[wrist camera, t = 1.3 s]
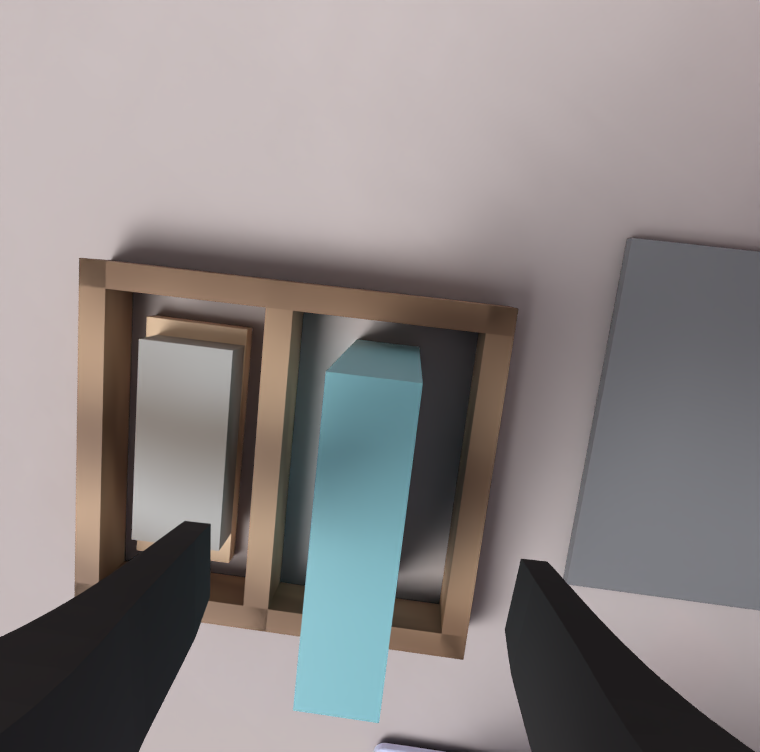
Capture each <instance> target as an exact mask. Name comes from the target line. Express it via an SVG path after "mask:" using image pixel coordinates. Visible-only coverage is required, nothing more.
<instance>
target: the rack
mask: <svg viewBox="0 0 760 752" xmlns="http://www.w3.org/2000/svg"><path fill="white" fill-rule="evenodd" d="M133 292H139V293H147V294H156V295H164V296H173V297H181V298H190V299H198V300H207V301H215V302H224V303H232V304H241V305H249V306H258V307H266V311H265V324H264V337H263V351H262V364H261V377H260V391H259V404H258V418H257V431H256V444H255V458H254V471H253V484H252V498H251V511H250V524H249V538H248V551H247V564H246V577H239V576H232V575H225V574H217V573H210V598H209V601H208V604H207V607H206V610H205V612H204V615H203V618H202V621H201V622H202V623H209V624H216V625H223V626H230V627H237V628H244V629H251V630H258V631H265V632H272V633H279V634H286V635H293V636H300V634H301V624H302V614H303V603H304V593H305V586H304V585H297V584H290V583H282V582H280V576H281V564H282V553H283V542H284V530H285V519H286V507H287V496H288V484H289V473H290V461H291V450H292V438H293V427H294V416H295V404H296V393H297V381H298V370H299V358H300V347H301V335H302V324H303V312H309V313H317V314H326V315H334V316H343V317H351V318H360V319H368V320H377V321H385V322H394V323H402V324H411V325H419V326H428V327H436V328H445V329H453V330H461V331H470V332H478V333H479V334H478V341H477V347H476V354H475V361H474V368H473V375H472V382H471V389H470V396H469V403H468V409H467V416H466V423H465V430H464V437H463V444H462V451H461V458H460V464H459V471H458V478H457V485H456V492H455V499H454V506H453V513H452V520H451V526H450V533H449V540H448V547H447V554H446V561H445V568H444V575H443V582H442V588H441V595H440V602H439V604H434V603H427V602H420V601H412V600H405V599H398V598H395V603H394V610H393V618H392V626H391V634H390V641H389V649H392V650H399V651H406V652H413V653H420V654H427V655H434V656H441V657H448V658H455V659H462V660H463V658H464V652H465V645H466V639H467V633H468V626H469V620H470V614H471V607H472V601H473V594H474V588H475V582H476V575H477V569H478V563H479V556H480V550H481V544H482V537H483V531H484V524H485V518H486V512H487V505H488V499H489V493H490V486H491V480H492V473H493V467H494V461H495V454H496V448H497V442H498V435H499V429H500V423H501V416H502V410H503V403H504V397H505V391H506V384H507V378H508V372H509V365H510V359H511V353H512V346H513V340H514V333H515V327H516V321H517V314H518V308H514V307H510V306H502V305H494V304H485V303H476V302H468V301H459V300H450V299H442V298H433V297H424V296H416V295H407V294H398V293H390V292H381V291H372V290H364V289H355V288H346V287H338V286H329V285H320V284H312V283H303V282H295V281H286V280H277V279H269V278H260V277H251V276H243V275H234V274H225V273H217V272H208V271H199V270H191V269H182V268H173V267H165V266H156V265H147V264H139V263H130V262H121V261H113V260H101V259H88V258H79V317H78V389H77V460H76V531H75V597H76V596H77V595H79V594H81V593H82V592H84V591H85V590H87V589H88V588H90V587H91V586H93V585H94V584H96V583H98V582H99V581H101V580H102V579H104V578H105V577H107V576H108V575H110V574H111V573H113V572H115V571H116V570H117V569H119V568H120V567H122V566H123V565H124V564H126V563H127V562H129V561H124V560H125V529H126V497H127V465H128V433H129V402H130V370H131V338H132V307H133Z"/></svg>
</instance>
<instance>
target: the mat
mask: <svg viewBox="0 0 760 752" xmlns="http://www.w3.org/2000/svg"><path fill="white" fill-rule="evenodd" d="M563 578H564V580H565V581H566V583H567V584H568V585H576V586H583V587H590V588H598V589H605V590H613V591H620V592H627V593H635V594H642V595H649V596H657V597H664V598H672V599H679V600H686V601H694V602H701V603H708V604H716V605H723V606H730V607H738V608H745V609H753V610H760V252H758V251H749V250H740V249H731V248H722V247H712V246H703V245H694V244H685V243H676V242H667V241H658V240H648V239H639V238H629V239H627V242H626V247H625V253H624V258H623V263H622V269H621V274H620V279H619V285H618V290H617V295H616V301H615V306H614V311H613V316H612V322H611V327H610V332H609V338H608V343H607V348H606V354H605V359H604V364H603V370H602V375H601V380H600V386H599V391H598V396H597V402H596V407H595V412H594V417H593V423H592V428H591V433H590V439H589V444H588V449H587V455H586V460H585V465H584V471H583V476H582V481H581V487H580V492H579V497H578V502H577V508H576V513H575V518H574V524H573V529H572V534H571V540H570V545H569V550H568V556H567V561H566V566H565V572H564V577H563Z"/></svg>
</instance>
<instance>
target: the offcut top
mask: <svg viewBox="0 0 760 752" xmlns="http://www.w3.org/2000/svg"><path fill="white" fill-rule="evenodd" d="M244 348H245V346H244V345H236V344H228V343H220V342H212V341H204V340H196V339H188V338H180V337H172V336H164V335H154V336H149V337H145V338H140V339H139V350H138V377H137V405H136V432H135V460H134V487H133V514H132V540H139V541H147V542H154V543H155V542H156V541H158V540H159V539H160V538H162V537H163V536H164V535H166V534H167V533H168V532H170V531H171V530H173V529H174V528H175V527H177V526H178V525H179V524H181V523H182V522H184V521H191V522H200V523H209V524H211V550H214V551H219V550H220V549H221V547H222V546H223V545H224V543H225V542H226V540H227V539H228V537H229V536H230V534H231V528H232V514H233V500H234V486H235V473H236V459H237V445H238V431H239V417H240V403H241V390H242V376H243V362H244Z"/></svg>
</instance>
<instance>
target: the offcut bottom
mask: <svg viewBox="0 0 760 752" xmlns="http://www.w3.org/2000/svg"><path fill="white" fill-rule="evenodd" d="M252 330H253V328H250V327H242V326H234V325H227V324H219V323H211V322H204V321H196V320H188V319H181V318H173V317H165V316H158V315H155V316H148V317H147V324H146V337H149V336H154V335H164V336H172V337H180V338H188V339H196V340H204V341H212V342H220V343H228V344H236V345H244V346H245V348H244V362H243V376H242V390H241V403H240V417H239V431H238V445H237V459H236V473H235V486H234V500H233V514H232V528H231V534H230V536H229V537H228V539H227V540H226V542H225V543H224V545H223V546H222V547H221V549H220V550H219V551H214V550H211V561H217V562H225V563H229V562H230V561H231V559H232V557H233V556H234V550H235V538H236V526H237V514H238V501H239V489H240V477H241V465H242V452H243V440H244V428H245V416H246V403H247V391H248V379H249V367H250V354H251V342H252ZM152 544H154V542H147V541H139V540H137V550H138V551H144V550H145V549H147V548H148V547H149V546H151V545H152Z"/></svg>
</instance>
